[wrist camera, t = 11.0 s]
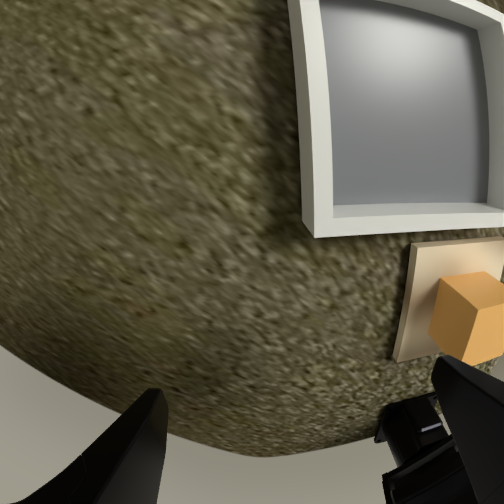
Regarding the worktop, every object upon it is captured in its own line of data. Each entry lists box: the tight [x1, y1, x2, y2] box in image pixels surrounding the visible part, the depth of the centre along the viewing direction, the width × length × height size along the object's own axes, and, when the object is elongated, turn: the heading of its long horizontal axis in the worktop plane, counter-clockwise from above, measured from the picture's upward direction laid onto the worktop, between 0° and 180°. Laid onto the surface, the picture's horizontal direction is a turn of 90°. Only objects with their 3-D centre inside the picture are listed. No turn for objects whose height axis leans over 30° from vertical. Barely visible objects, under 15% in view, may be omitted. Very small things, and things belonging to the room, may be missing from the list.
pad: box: [392, 236, 504, 362], centre depth 21 cm, size 10×10×1 cm
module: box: [428, 271, 504, 366], centre depth 19 cm, size 5×5×5 cm
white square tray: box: [287, 0, 504, 238], centre depth 15 cm, size 16×16×4 cm
